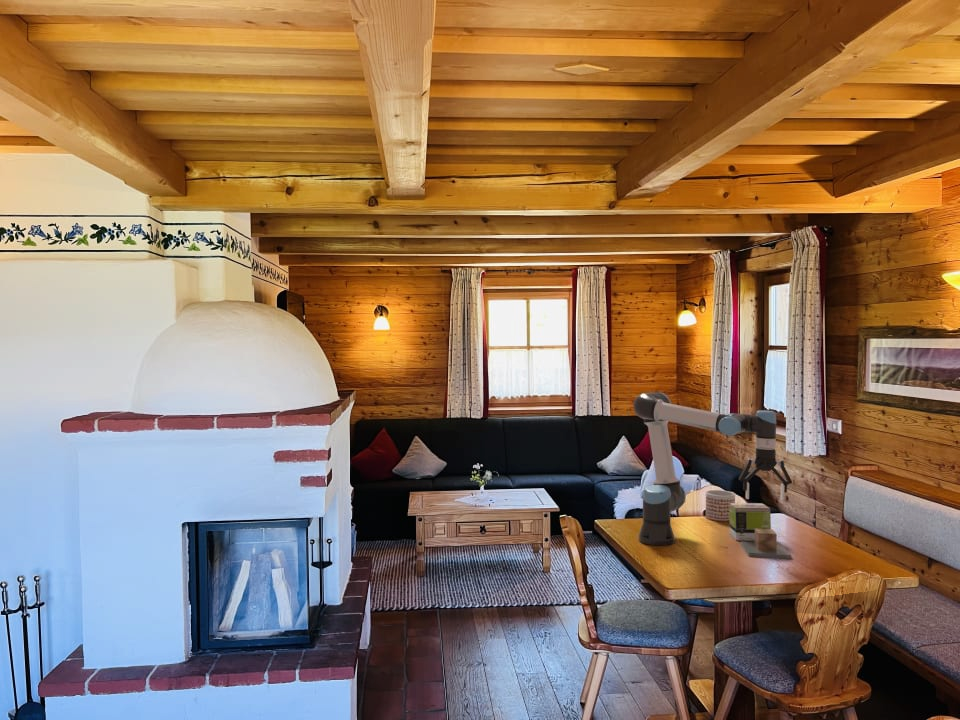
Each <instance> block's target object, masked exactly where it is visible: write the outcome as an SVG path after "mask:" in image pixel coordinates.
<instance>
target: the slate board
mask: <svg viewBox="0 0 960 720" xmlns="http://www.w3.org/2000/svg"><path fill="white" fill-rule="evenodd" d="M740 546H741V547H742V549H743V550H744V552H745V553H746V555H747V556H748V557H751V558H752V557H753V558H755V557H756V558H768V559H769V558H770V559H771V558H772V559H787V560H788V559H790V560H791V559H792V554H791V553H790V552H789V550H787V549H786V547H784V545H783V544H781V543H777V551H765V550H758V549H757V548H756V546H755V541H740Z"/></svg>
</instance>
